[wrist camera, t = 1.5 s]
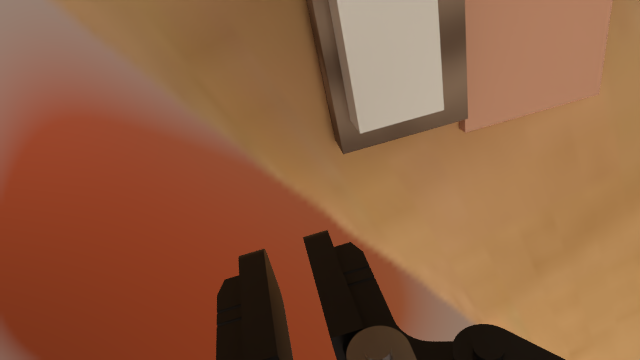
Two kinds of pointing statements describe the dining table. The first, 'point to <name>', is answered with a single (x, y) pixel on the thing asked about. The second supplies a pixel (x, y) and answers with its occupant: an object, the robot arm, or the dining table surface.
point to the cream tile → (388, 59)
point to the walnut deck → (454, 111)
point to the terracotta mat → (531, 56)
